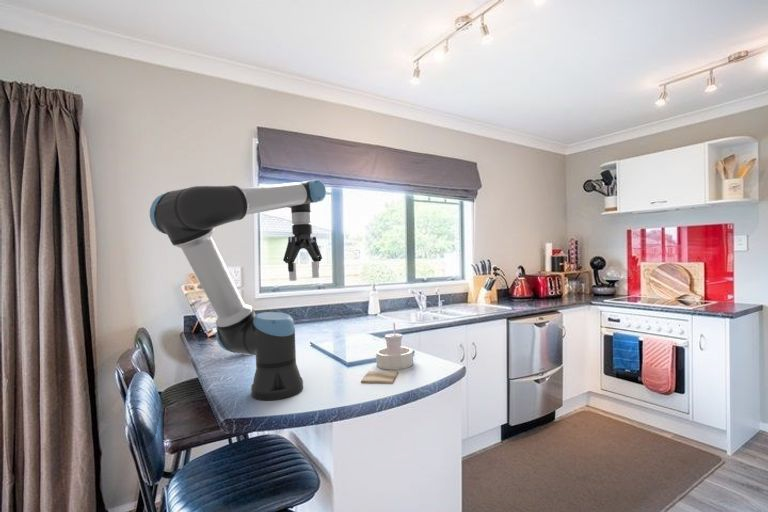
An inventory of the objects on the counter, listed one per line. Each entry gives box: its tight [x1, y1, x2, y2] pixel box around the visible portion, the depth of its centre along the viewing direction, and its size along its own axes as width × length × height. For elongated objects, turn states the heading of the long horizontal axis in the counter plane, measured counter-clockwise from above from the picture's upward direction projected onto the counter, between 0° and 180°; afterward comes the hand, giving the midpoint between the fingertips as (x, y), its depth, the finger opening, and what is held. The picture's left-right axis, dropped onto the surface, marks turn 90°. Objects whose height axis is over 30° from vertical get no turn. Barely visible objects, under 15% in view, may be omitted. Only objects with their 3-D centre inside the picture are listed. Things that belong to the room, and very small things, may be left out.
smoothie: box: [384, 322, 403, 355], centre depth 137 cm, size 6×6×14 cm
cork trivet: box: [360, 370, 399, 385], centre depth 123 cm, size 10×10×1 cm
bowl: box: [375, 346, 414, 371], centre depth 137 cm, size 13×13×5 cm
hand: (304, 279), depth 147 cm, fingers open, 13 cm apart
